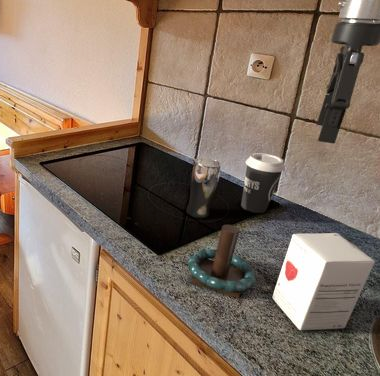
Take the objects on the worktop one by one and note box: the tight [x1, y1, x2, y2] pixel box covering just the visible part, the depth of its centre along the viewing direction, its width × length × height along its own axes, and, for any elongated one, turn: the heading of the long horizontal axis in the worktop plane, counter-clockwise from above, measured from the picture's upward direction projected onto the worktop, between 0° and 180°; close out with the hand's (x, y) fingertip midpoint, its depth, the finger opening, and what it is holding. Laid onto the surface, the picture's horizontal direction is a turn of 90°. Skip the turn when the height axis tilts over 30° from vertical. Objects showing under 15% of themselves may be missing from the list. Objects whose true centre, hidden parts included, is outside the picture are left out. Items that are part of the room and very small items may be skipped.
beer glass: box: [185, 157, 222, 219], centre depth 108 cm, size 7×7×15 cm
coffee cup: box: [240, 152, 286, 214], centre depth 112 cm, size 10×10×15 cm
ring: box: [187, 249, 257, 292], centre depth 84 cm, size 13×13×2 cm
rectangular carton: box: [271, 232, 376, 331], centre depth 73 cm, size 9×9×15 cm
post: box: [191, 224, 245, 299], centre depth 82 cm, size 9×9×12 cm
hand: (324, 133), depth 83 cm, fingers open, 13 cm apart
